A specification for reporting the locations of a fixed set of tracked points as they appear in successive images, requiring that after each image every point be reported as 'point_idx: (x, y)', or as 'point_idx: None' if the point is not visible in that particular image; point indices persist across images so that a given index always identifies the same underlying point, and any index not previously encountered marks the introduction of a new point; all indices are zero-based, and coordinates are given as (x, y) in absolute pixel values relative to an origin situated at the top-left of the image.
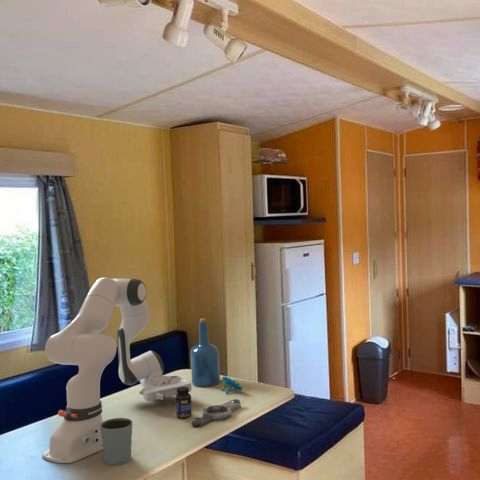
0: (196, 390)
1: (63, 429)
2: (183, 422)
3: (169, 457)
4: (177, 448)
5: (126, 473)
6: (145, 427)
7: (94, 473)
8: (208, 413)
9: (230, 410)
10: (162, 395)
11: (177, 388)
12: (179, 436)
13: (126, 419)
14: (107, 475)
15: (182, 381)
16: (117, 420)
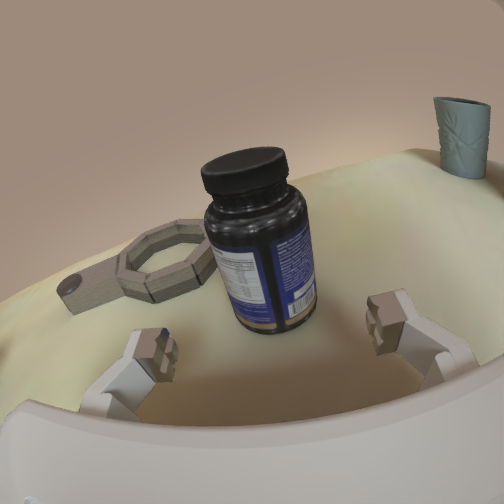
0: None
1: None
2: None
3: (372, 160)
4: (355, 171)
5: (434, 151)
6: (455, 257)
7: None
8: (205, 231)
9: (142, 234)
10: (397, 292)
11: (272, 158)
12: (343, 197)
13: (452, 102)
14: None
15: (12, 498)
16: (471, 108)
